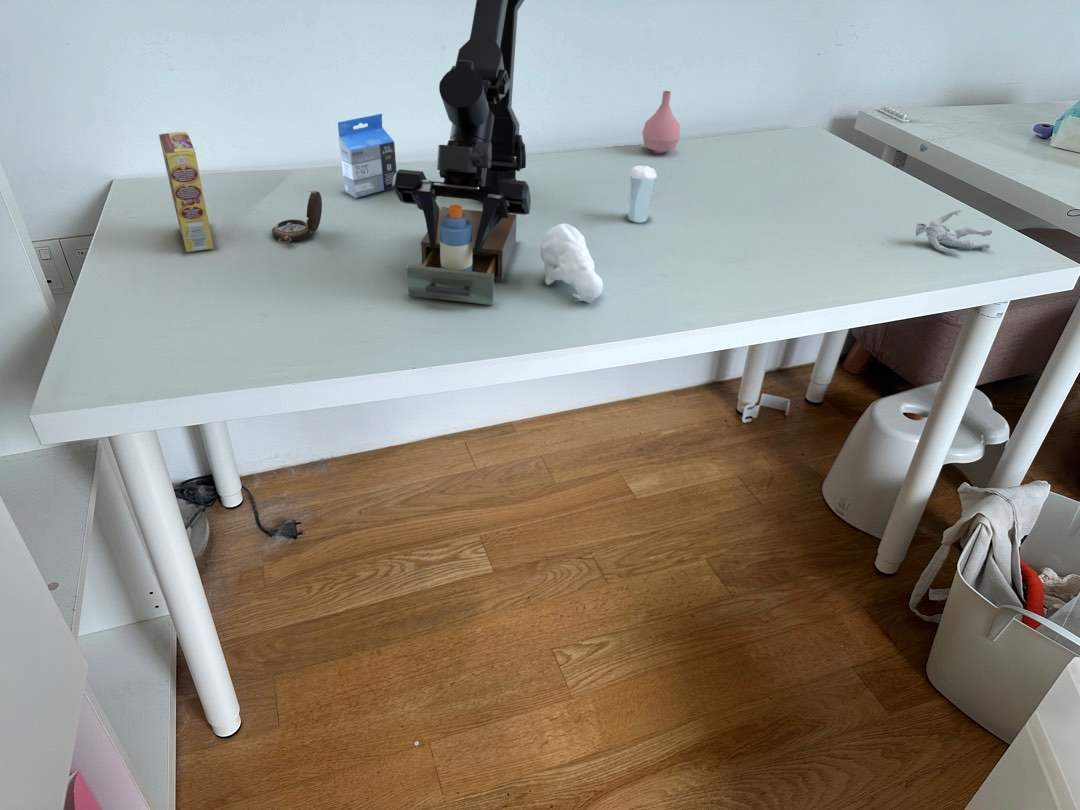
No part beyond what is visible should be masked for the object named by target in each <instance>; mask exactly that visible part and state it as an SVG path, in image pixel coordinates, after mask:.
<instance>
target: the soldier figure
mask: <svg viewBox="0 0 1080 810" xmlns="http://www.w3.org/2000/svg"><path fill="white" fill-rule="evenodd" d="M958 213H963V210H960V209H957V210H953V211H952V212H949V213H947V214H945V215H943V216H941V217H939V218H937V219H936V220H933V221H931V222H930V223H929V224H925V223H919V222H917V224H916V227H915V237H918V236H920V235H922V234H923V233H924V232H925V234H926V236H927V241H928V242H929V243H930V244H931V245H932V247H934V249H936V250H937V251H939V252H942V253H946V254H948V253H949V254H950V255H957V254H958V250H957V249H954V248H968V249H976V248H980V249H983V250H987V249H990V248H991V243H977V242H974V241H973V240H972V239H962V237H965V236H968V235H980V236H981V237H986V236H988V237H989V236H990V235H992V233H993V229H988V230H981V229H977V228H976V227H974V226H969V227H961V228H958V229H956V230H954V229H953V228H952V229H951V228H950V226H948V225H941V224H943V223H945V222H947V221H948V220H950V218H952V217H953V216H954V215H955V216H959V214H958ZM940 243H941V244H940ZM942 244H943V245H945V246H943V245H942ZM946 246H947V247H946ZM948 247H953V248H948Z"/></svg>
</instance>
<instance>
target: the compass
mask: <svg viewBox="0 0 1080 810" xmlns="http://www.w3.org/2000/svg"><path fill="white" fill-rule="evenodd" d="M308 192H310V195H309V197H308V201H307V205H306V206H307V207H306V218H307V219H306V221H304V220H303V219H295V218H294V219H286V220H282V221H280V222H278V223H277V224H276V225H275V226H273V228H272V229H271V233H272V236H273V237H274V238H275V239H277V240H278V242H279V243H282V244H287V243H290V242H297V241H302V240H303V241H304V240H306V239H308V238H310V236H311V235H313V232H316V231H317V230H318V229H319V227H320V223H321V219H322V211H323V199H322V195H321V192H319V191H316V190H308V191H307V193H308Z"/></svg>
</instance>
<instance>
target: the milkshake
mask: <svg viewBox="0 0 1080 810" xmlns="http://www.w3.org/2000/svg"><path fill="white" fill-rule="evenodd" d="M663 167H664V164H662V165H661V166H660V168H659V170H658V171H656V170H655V169H654V168H652V167H650V166H648V165H636V166H633V167H632V168H631V169H630V171H629V181H628V184H629V187H628V209H627V212H628V214H627V219H628V220H629V221H631V222H633V223H637V224H641V223H645V222H647V220H648V217H649V213H650V209H651V203H652V199H653V193H654V190H655V186H656V181H657V176H658V174H659V173H660V171H661V169H662V168H663Z"/></svg>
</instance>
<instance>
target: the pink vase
mask: <svg viewBox="0 0 1080 810" xmlns="http://www.w3.org/2000/svg"><path fill="white" fill-rule="evenodd" d="M671 94H672V91H670V90H663V91H662V98H661V104H660V105H659V107H658V108H657V110H656V111H655V113H654V114H652V116H651V117H650V118H649V119H647V120H646V121H645V123H644V127H643V129H642V140H643V146H644V147H645V148H647V149H650V150H652V151H653V153H654V154H658V155H659V154H660V155H662V154H665V152H669V151H673V150H675V149H676V147H677V145H678V144H679V143H678V142H679V140H680V138H681V129H680V127H681V126H680V124H679V122H678V121H677V119H676V118H675V116H674V115H673V111H672V109H671V105H670V101H671Z"/></svg>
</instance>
